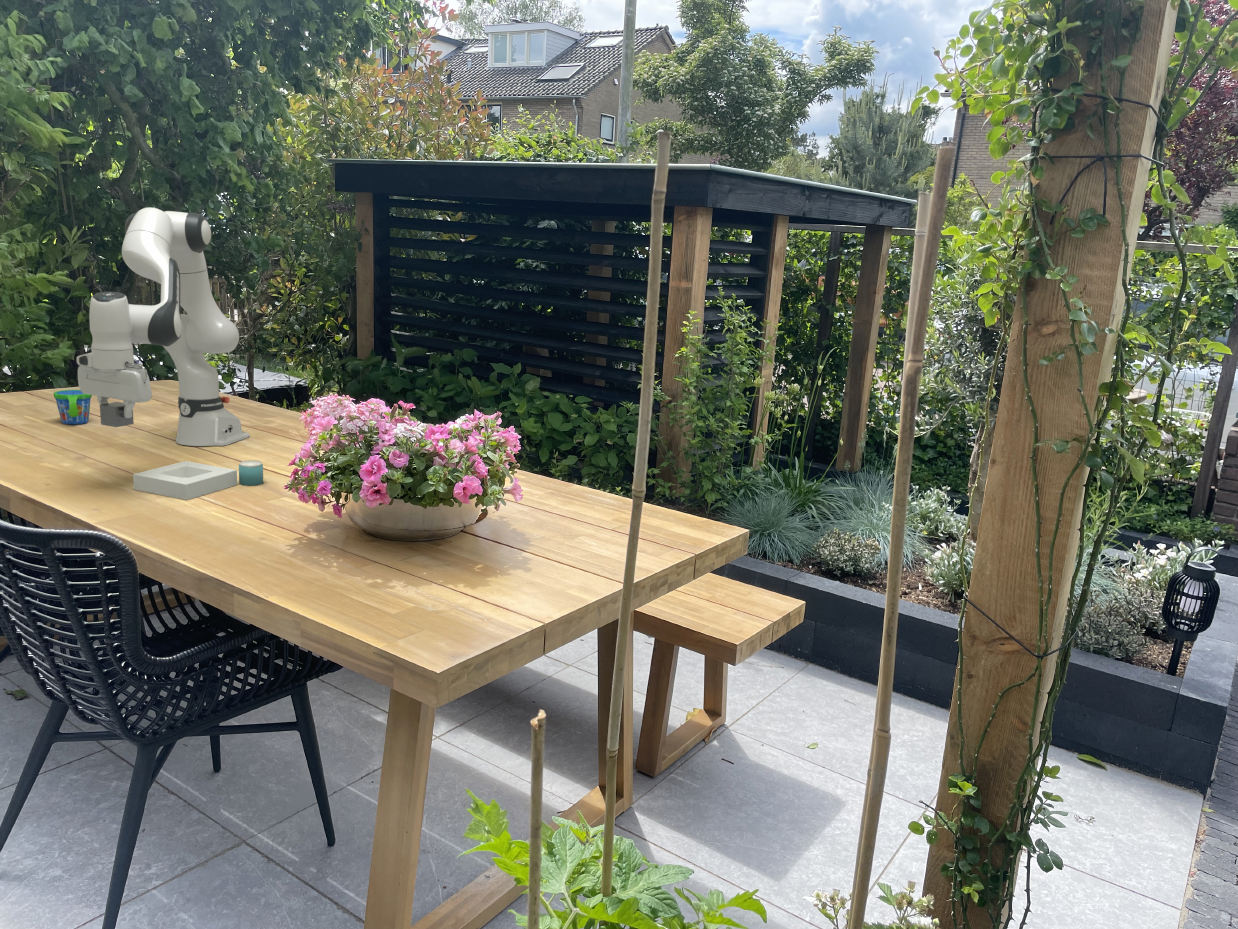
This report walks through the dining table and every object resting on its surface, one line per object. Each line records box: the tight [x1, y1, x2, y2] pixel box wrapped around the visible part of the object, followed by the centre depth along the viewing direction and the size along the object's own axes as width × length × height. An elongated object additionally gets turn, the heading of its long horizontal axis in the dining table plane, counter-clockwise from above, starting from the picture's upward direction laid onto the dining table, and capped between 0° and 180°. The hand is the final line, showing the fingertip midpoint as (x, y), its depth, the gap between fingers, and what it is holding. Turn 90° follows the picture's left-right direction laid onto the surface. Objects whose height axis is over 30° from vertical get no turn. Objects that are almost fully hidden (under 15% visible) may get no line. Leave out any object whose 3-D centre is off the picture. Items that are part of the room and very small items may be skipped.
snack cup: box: [53, 389, 93, 425], centre depth 287 cm, size 16×10×10 cm
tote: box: [132, 460, 238, 501], centre depth 228 cm, size 17×17×4 cm
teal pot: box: [238, 459, 264, 487], centre depth 236 cm, size 6×6×6 cm
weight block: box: [99, 401, 134, 428], centre depth 219 cm, size 5×5×5 cm
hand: (117, 415), depth 219 cm, fingers closed on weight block, 5 cm apart
